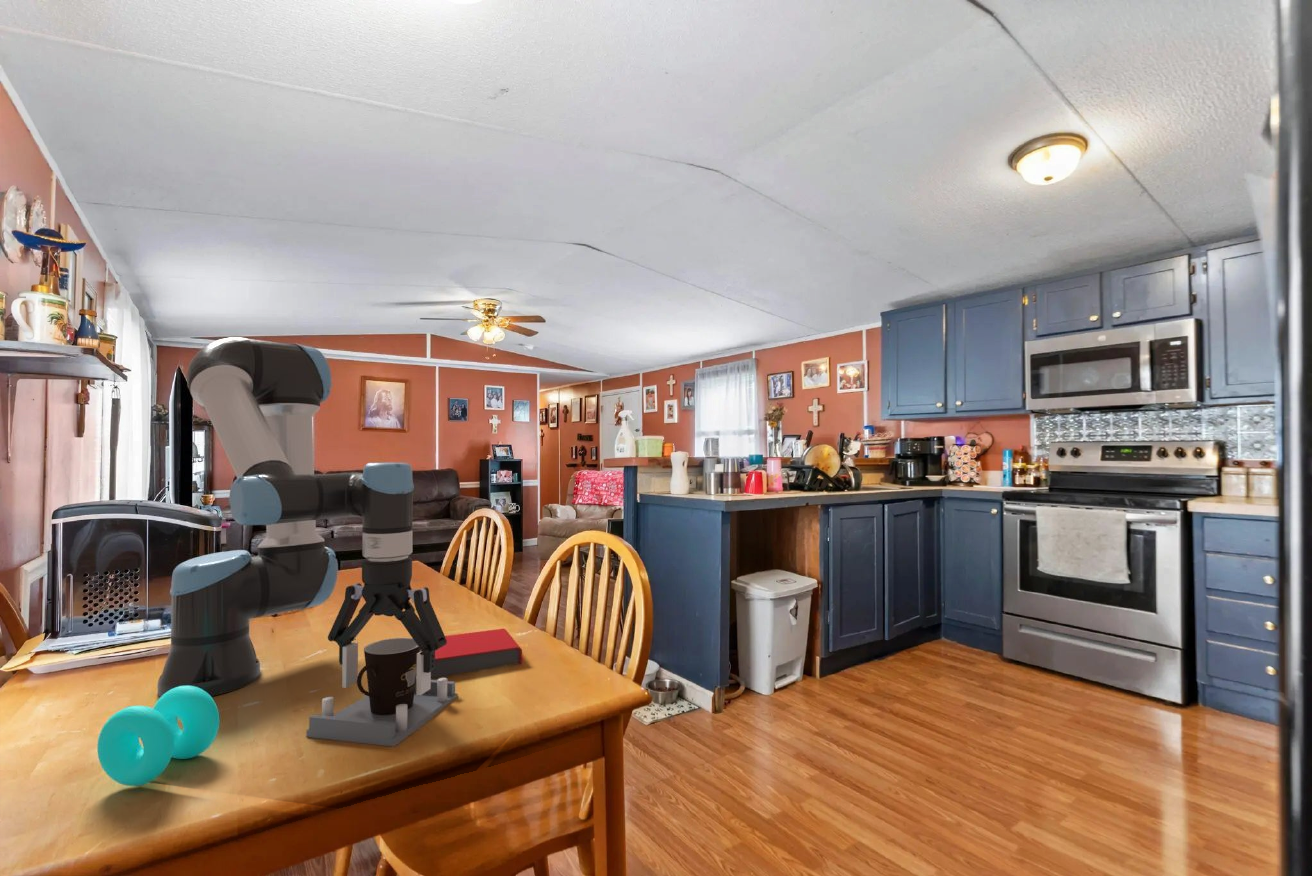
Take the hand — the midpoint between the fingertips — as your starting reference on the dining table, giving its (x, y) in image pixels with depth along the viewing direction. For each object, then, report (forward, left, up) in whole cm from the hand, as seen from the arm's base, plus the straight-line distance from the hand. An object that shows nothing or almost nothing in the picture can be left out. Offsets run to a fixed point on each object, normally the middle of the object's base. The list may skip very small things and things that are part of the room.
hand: (386, 688), depth 100 cm
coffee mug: (0, 0, -4) cm, 4 cm away
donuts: (-19, -21, -5) cm, 29 cm away
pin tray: (0, 0, -4) cm, 5 cm away
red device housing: (+1, +24, -5) cm, 25 cm away
